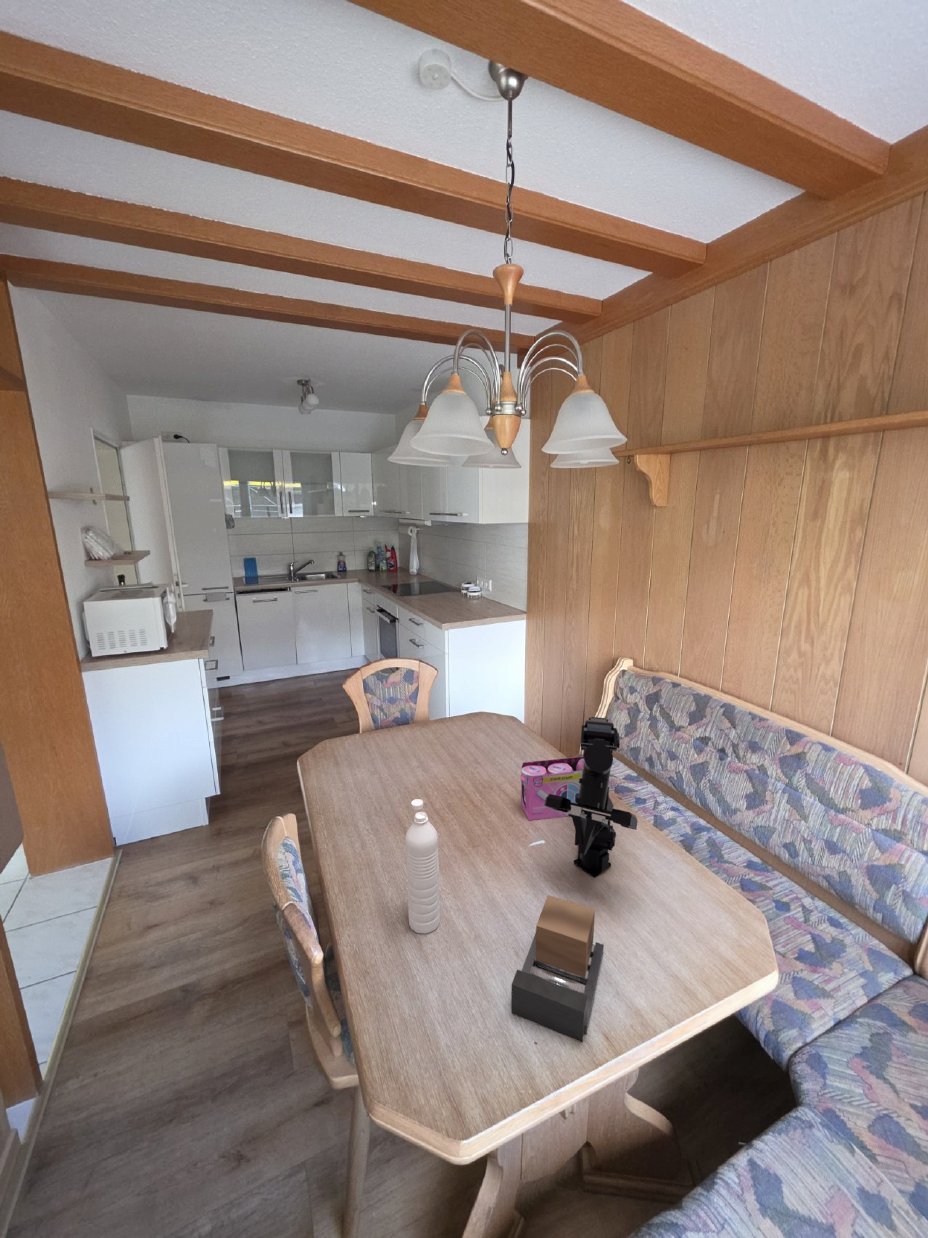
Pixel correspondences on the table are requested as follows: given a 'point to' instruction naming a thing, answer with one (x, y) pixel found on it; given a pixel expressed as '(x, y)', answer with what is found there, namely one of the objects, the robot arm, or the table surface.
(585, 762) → the robot arm
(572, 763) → the gum box
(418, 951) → the table surface
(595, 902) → the table surface
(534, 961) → the roller bed
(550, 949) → the brown cardboard box
